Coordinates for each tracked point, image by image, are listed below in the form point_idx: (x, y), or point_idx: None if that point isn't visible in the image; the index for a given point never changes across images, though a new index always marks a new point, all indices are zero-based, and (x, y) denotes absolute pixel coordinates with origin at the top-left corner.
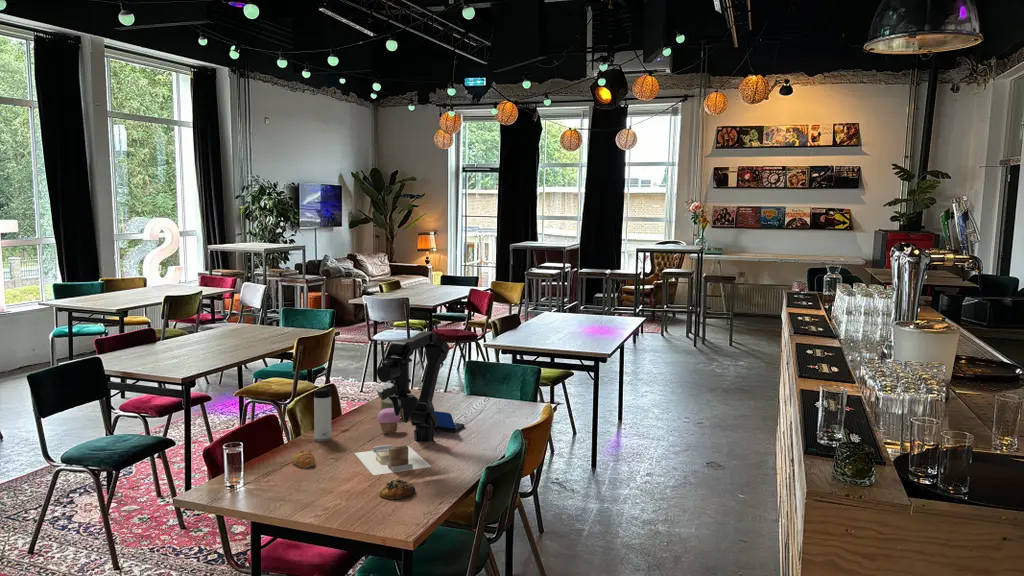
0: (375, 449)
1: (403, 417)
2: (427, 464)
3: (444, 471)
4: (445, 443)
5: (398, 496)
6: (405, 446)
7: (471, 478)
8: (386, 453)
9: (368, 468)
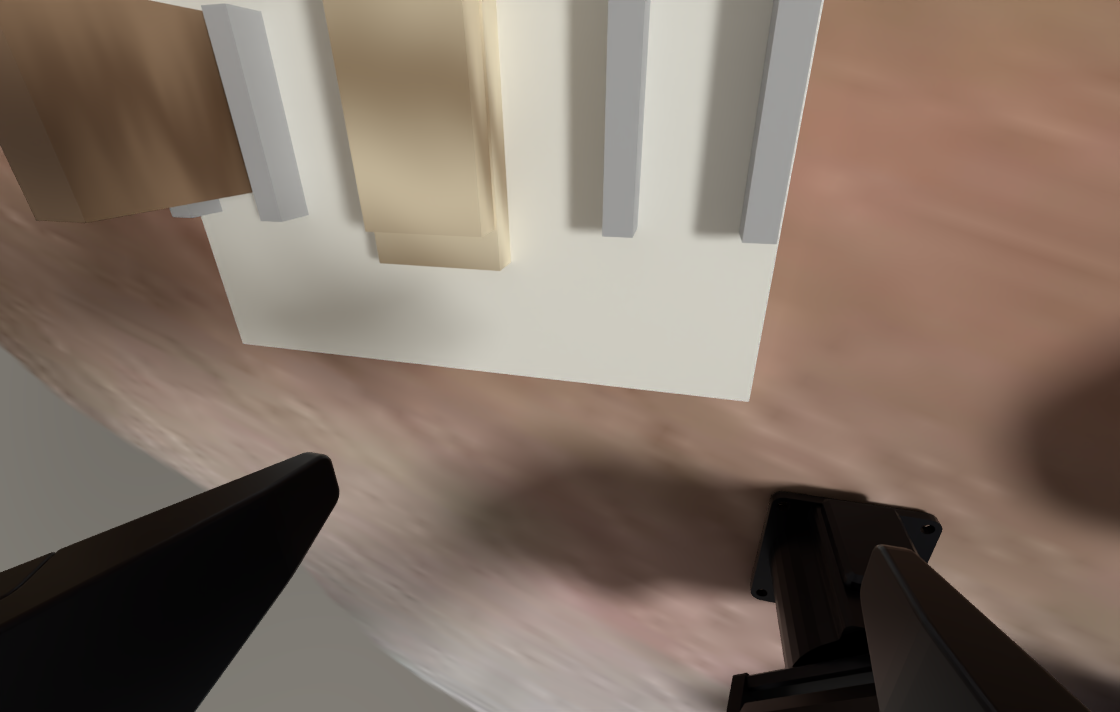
0: (776, 2)
1: (193, 505)
2: (281, 338)
3: (225, 383)
4: (707, 623)
5: None
6: (57, 201)
7: (134, 442)
8: (393, 48)
9: None
